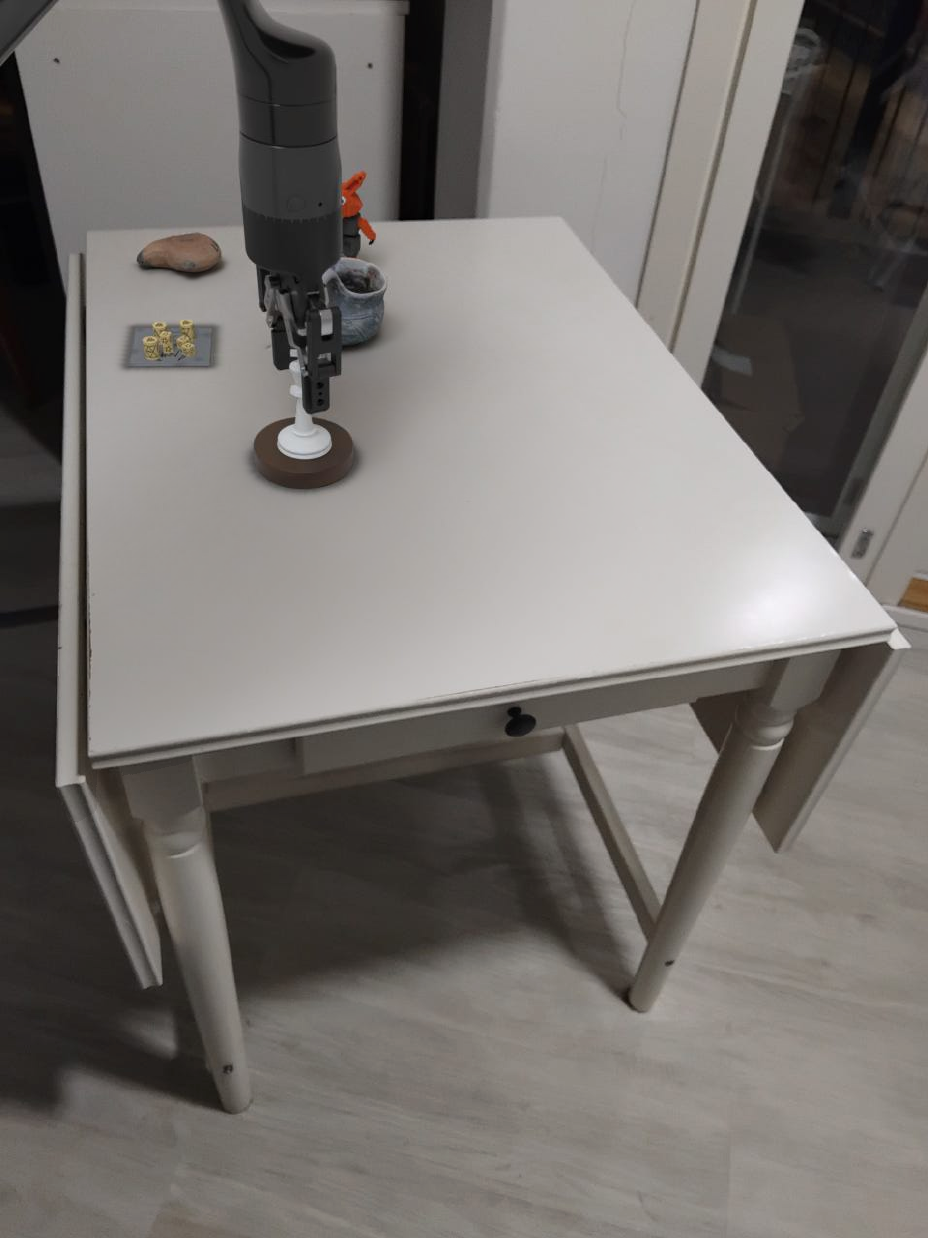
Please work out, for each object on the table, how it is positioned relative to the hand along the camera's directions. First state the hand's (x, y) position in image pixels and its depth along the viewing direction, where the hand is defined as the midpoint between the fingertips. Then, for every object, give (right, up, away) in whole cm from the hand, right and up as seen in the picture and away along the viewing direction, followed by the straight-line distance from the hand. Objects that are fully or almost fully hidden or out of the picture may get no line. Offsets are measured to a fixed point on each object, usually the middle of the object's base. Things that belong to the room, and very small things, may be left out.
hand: (301, 387), depth 83 cm
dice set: (-17, +9, +18) cm, 26 cm away
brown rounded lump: (-20, +22, +31) cm, 43 cm away
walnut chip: (-1, -5, +5) cm, 8 cm away
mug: (+1, +10, +21) cm, 23 cm away
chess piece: (0, -4, +4) cm, 6 cm away
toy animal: (-1, +21, +32) cm, 39 cm away
